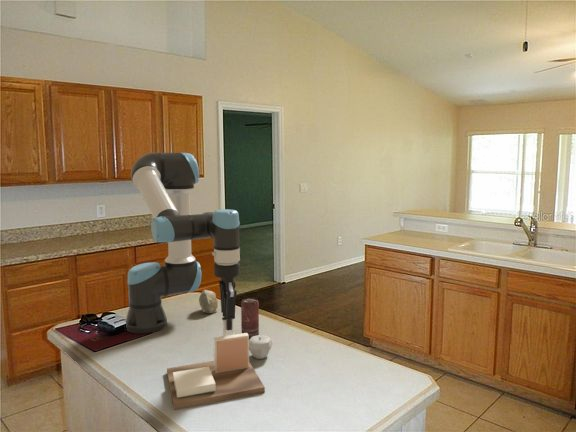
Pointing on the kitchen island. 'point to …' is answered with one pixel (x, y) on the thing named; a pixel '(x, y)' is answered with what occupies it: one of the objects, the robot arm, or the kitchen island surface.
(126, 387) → the kitchen island surface
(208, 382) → the square block
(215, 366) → the tile cream
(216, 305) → the grey rock
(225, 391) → the board
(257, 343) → the apple
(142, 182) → the robot arm
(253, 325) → the can
